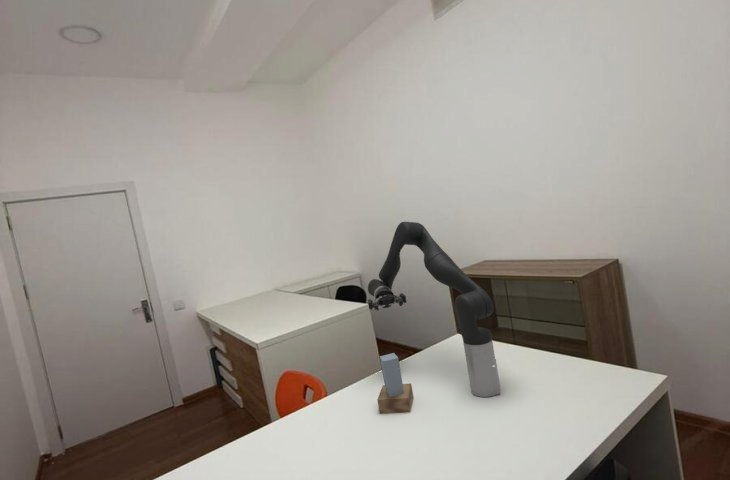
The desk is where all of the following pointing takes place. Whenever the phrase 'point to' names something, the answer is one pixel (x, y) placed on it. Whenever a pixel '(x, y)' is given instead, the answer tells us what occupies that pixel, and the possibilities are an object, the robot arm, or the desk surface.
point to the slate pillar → (392, 375)
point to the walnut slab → (396, 401)
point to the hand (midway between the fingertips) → (389, 305)
